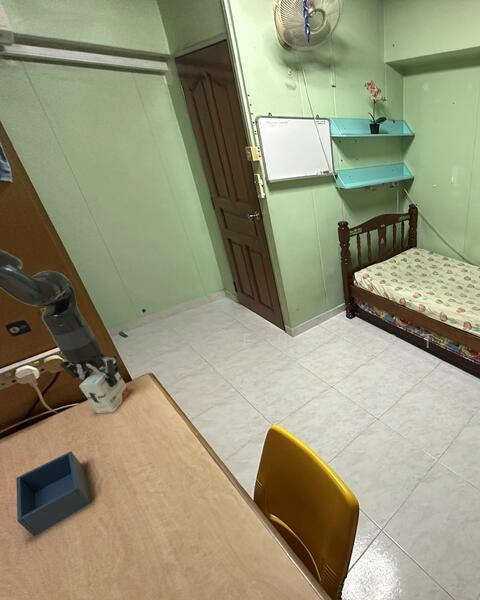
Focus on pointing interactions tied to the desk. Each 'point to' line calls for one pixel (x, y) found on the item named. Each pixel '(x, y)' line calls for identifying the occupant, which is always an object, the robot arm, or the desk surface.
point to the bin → (51, 493)
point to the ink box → (104, 392)
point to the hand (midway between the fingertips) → (103, 385)
